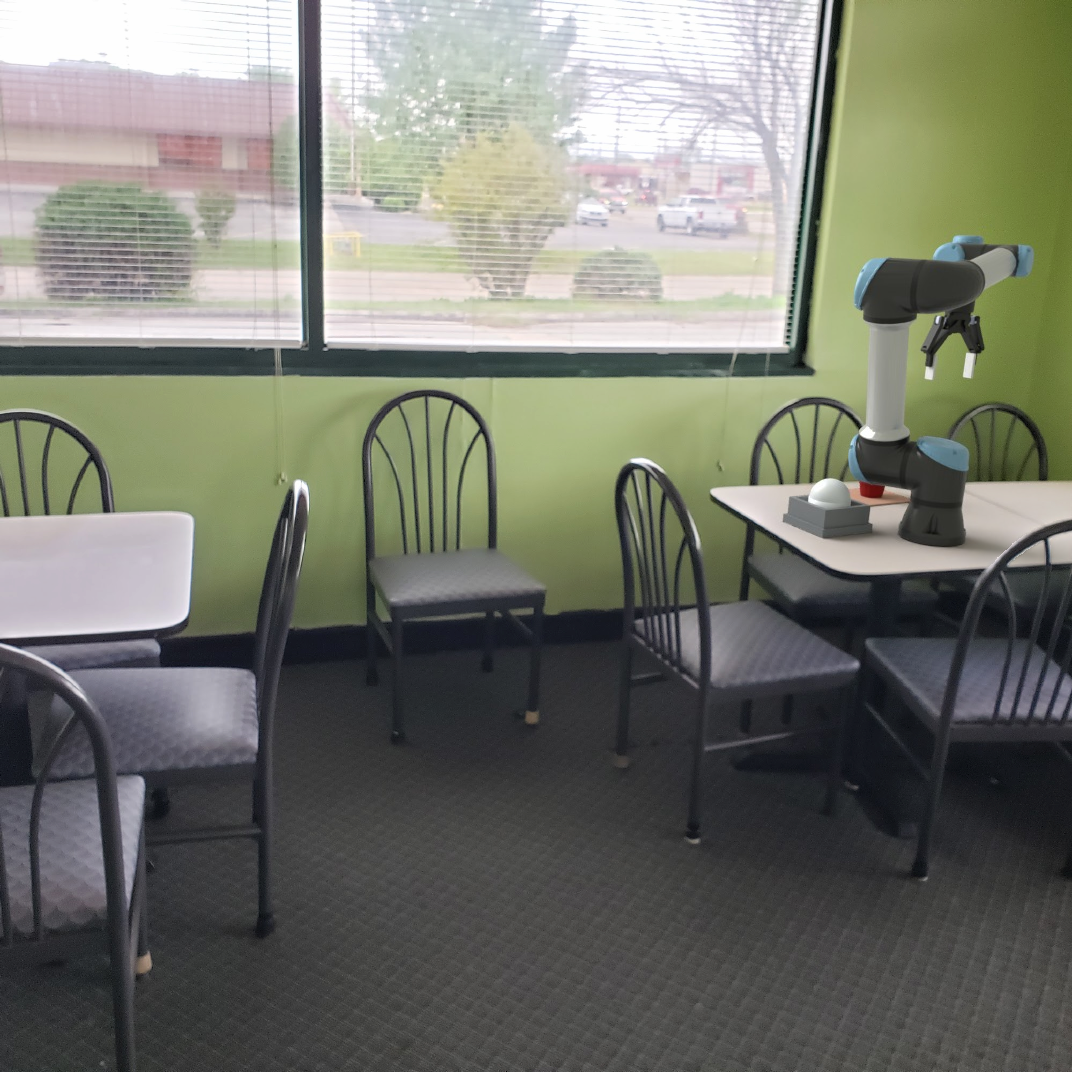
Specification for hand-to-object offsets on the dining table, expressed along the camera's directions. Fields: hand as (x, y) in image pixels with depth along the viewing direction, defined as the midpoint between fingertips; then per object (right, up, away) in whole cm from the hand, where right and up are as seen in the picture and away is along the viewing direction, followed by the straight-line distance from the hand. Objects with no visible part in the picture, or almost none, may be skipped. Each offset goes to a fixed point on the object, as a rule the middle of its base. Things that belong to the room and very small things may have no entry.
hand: (948, 378), depth 273 cm
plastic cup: (-18, -31, +8) cm, 37 cm away
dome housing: (-39, -40, -22) cm, 60 cm away
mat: (-18, -31, +8) cm, 37 cm away
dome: (-39, -37, -23) cm, 58 cm away
